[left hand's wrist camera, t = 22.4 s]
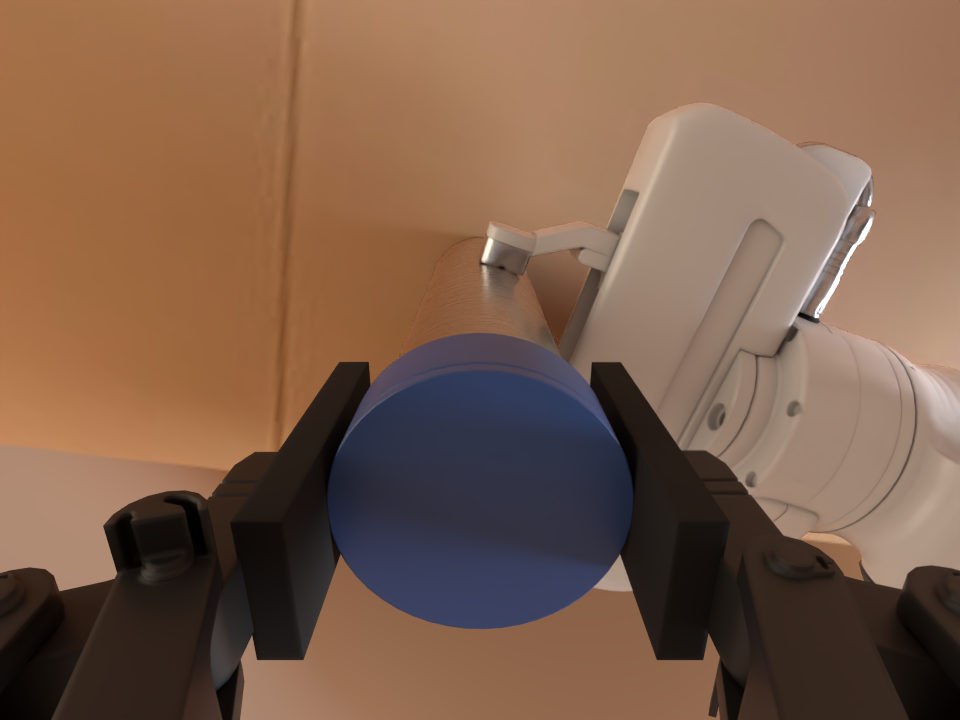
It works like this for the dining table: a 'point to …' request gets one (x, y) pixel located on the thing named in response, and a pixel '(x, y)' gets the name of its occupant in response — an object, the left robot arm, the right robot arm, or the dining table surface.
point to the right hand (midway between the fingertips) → (458, 315)
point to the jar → (478, 301)
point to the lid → (480, 484)
